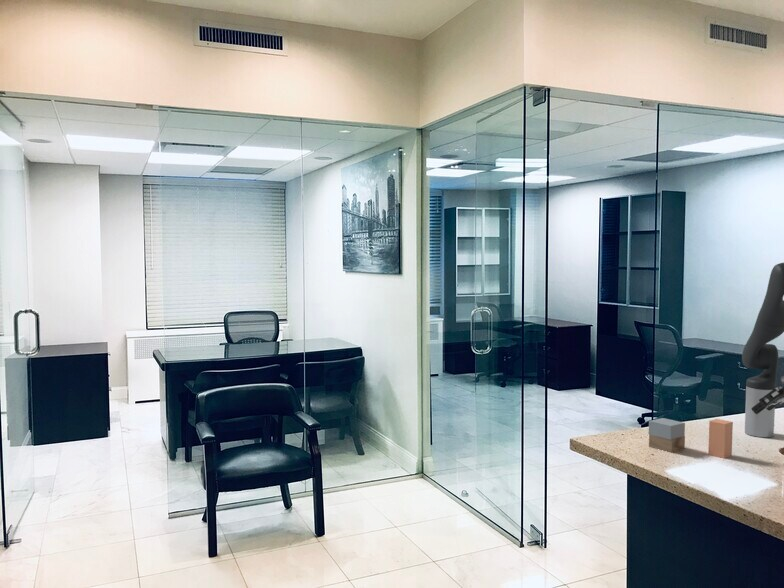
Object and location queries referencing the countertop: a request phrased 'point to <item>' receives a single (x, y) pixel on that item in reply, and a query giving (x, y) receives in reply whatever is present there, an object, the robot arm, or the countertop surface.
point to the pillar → (720, 438)
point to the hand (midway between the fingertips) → (760, 409)
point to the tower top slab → (666, 428)
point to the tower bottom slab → (667, 443)
